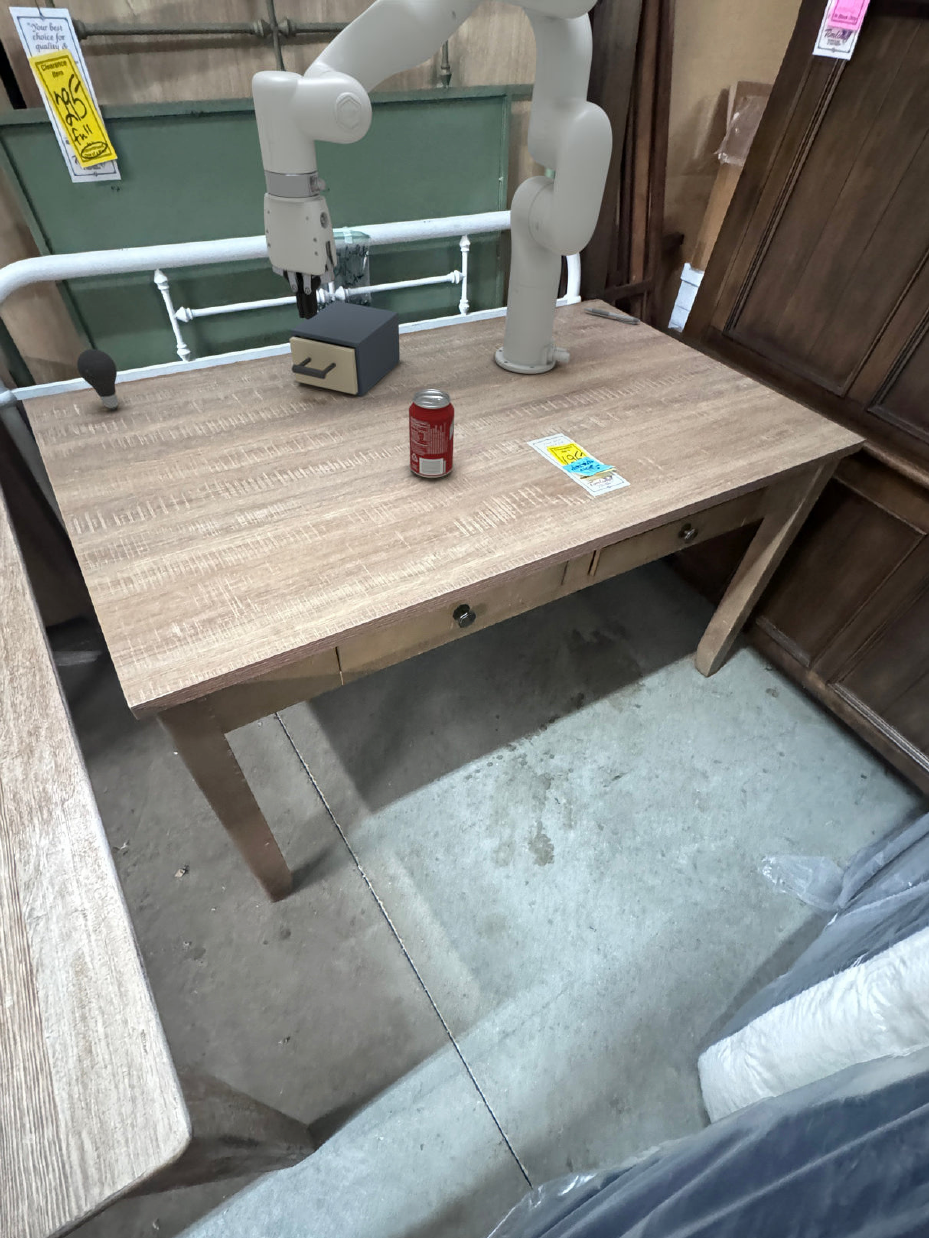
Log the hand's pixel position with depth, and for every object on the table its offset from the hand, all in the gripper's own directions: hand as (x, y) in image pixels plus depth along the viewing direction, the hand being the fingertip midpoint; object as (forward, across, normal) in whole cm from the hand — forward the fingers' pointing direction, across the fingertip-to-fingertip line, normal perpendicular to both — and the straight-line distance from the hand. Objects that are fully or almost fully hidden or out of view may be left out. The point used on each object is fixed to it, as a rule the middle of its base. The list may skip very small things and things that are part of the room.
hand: (308, 316), depth 103 cm
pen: (+14, -42, -65) cm, 79 cm away
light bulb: (+15, +30, +19) cm, 38 cm away
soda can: (+14, -28, +14) cm, 35 cm away
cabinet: (+14, 0, -12) cm, 19 cm away
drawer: (+13, 0, -7) cm, 15 cm away
